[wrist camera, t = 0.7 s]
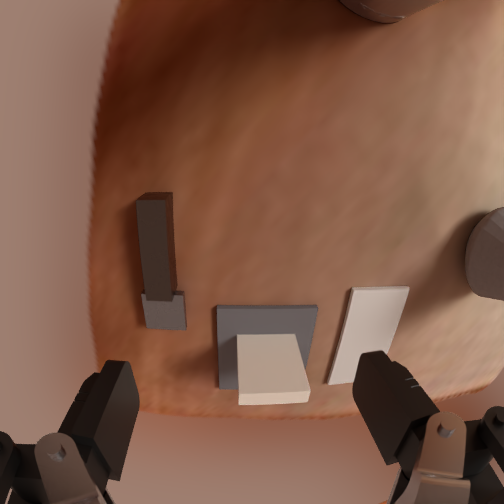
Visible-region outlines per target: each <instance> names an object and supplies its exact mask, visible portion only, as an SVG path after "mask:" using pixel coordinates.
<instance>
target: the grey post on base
mask: <svg viewBox="0 0 504 504" xmlns="http://www.w3.org/2000/svg"><path fill="white" fill-rule="evenodd" d="M136 211H137V224H138V236H139V246H140V255H141V264H142V272H143V280H144V288H145V290H143V291H142V293H141V296H142V303H143V309H144V315H145V320H146V326H147V328H151V329H168V330H186V328H187V320H186V308H185V296H184V291H176V288H177V275H176V260H175V244H174V223H173V192H149V193H145V194H143V195H142V196H141V197H140V198H138V199H137V200H136Z"/></svg>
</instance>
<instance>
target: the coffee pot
mask: <svg viewBox="0 0 504 504" xmlns="http://www.w3.org/2000/svg"><path fill="white" fill-rule="evenodd" d="M465 272H466V277H467V281H468V283H469V285H470V287H471V289H472V291H473V292H474V293H475V294H477V295H478V296H481V297H486V298H492V299H497V300H503V301H504V207H502V208H497V209H495V210H493V211H491V212H490V213H489V214H487V215H486V216H485V217H484V218H483V219H482V220H480V221H479V222H478V223H477V225H476V226H475V227H474V229H473V231H472V233H471V235H470V237H469V240H468V243H467V247H466V256H465Z"/></svg>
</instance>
